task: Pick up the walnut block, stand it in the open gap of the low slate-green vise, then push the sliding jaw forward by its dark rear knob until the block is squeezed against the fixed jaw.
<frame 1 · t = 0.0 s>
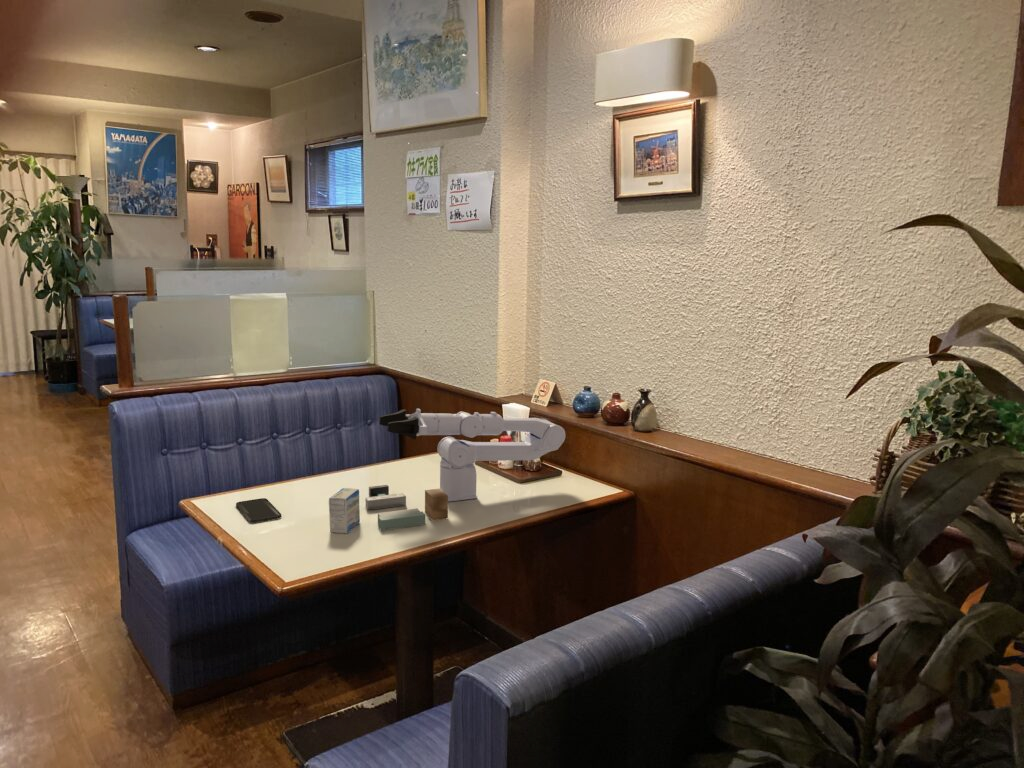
hand: (383, 423, 196), 22 cm above the table, tool horizontal, fingers open, 7 cm apart
medicine box: (345, 528, 184), on the table
vise body: (397, 520, 189), on the table
sliding jaw: (382, 496, 201), point 2 cm above the table, slide at 0.0 cm
walnut block: (436, 515, 193), on the table
phone: (258, 513, 193), on the table
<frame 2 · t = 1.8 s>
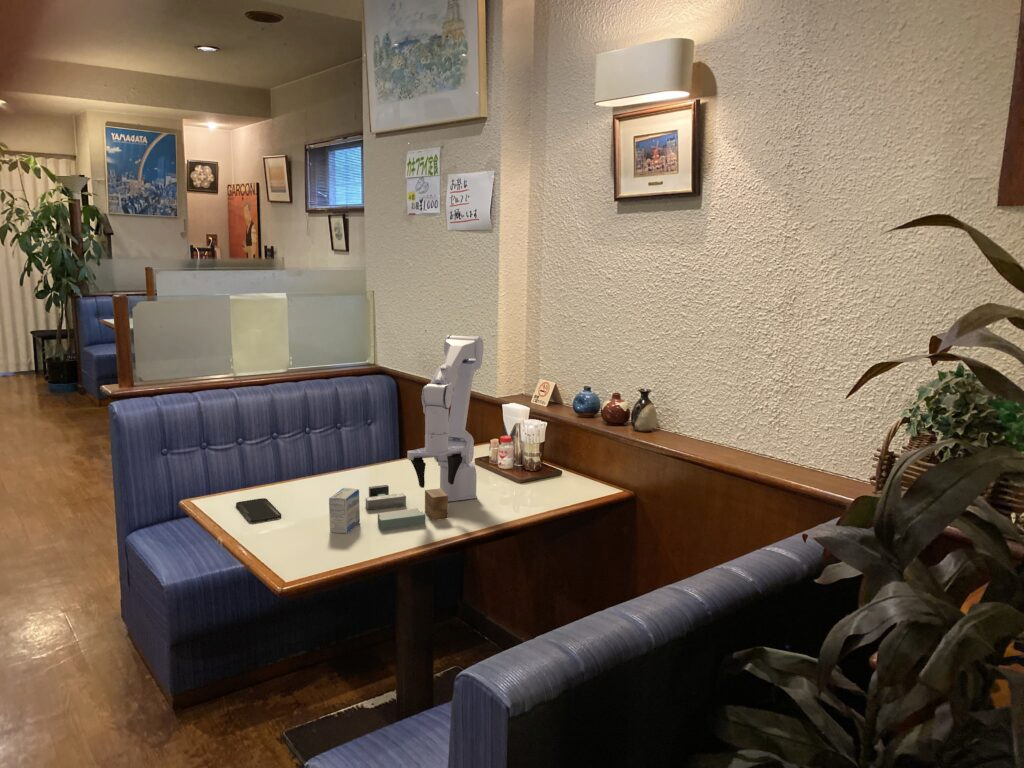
hand: (436, 484, 192), 8 cm above the table, tool pointing down, fingers open, 7 cm apart
nothing on the table moved.
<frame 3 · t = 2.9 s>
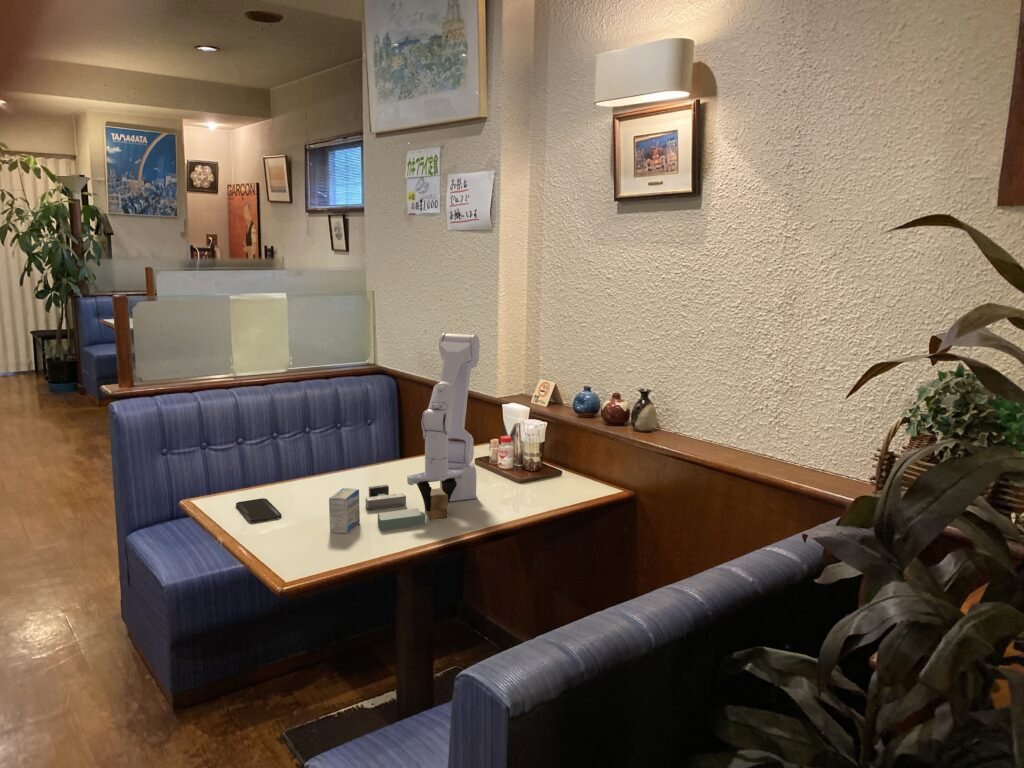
hand: (436, 508, 193), 2 cm above the table, tool pointing down, fingers closed on walnut block, 4 cm apart
walnut block: (436, 515, 193), on the table, touching gripper
everything else where it was.
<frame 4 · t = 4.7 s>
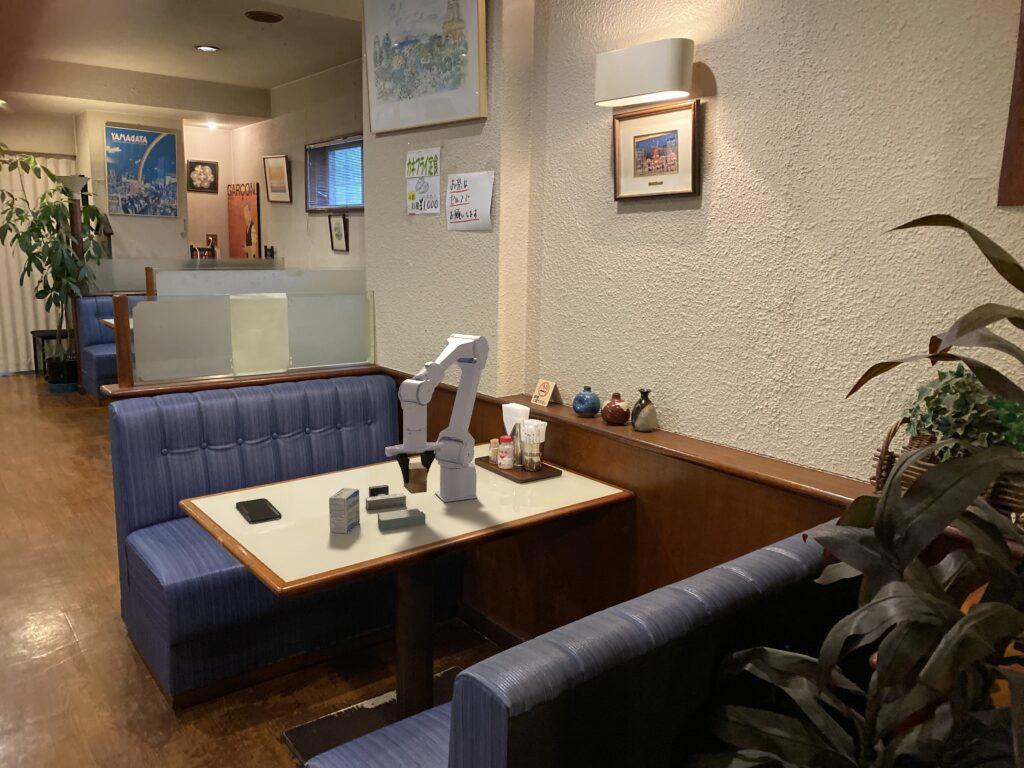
hand: (414, 481, 191), 9 cm above the table, tool pointing down, fingers closed on walnut block, 4 cm apart
walnut block: (415, 489, 191), point 7 cm above the table, touching gripper
everything else where it was.
when the fingers open (3 cm above the table, at t = 6.6 s): walnut block drops 1 cm, on the table.
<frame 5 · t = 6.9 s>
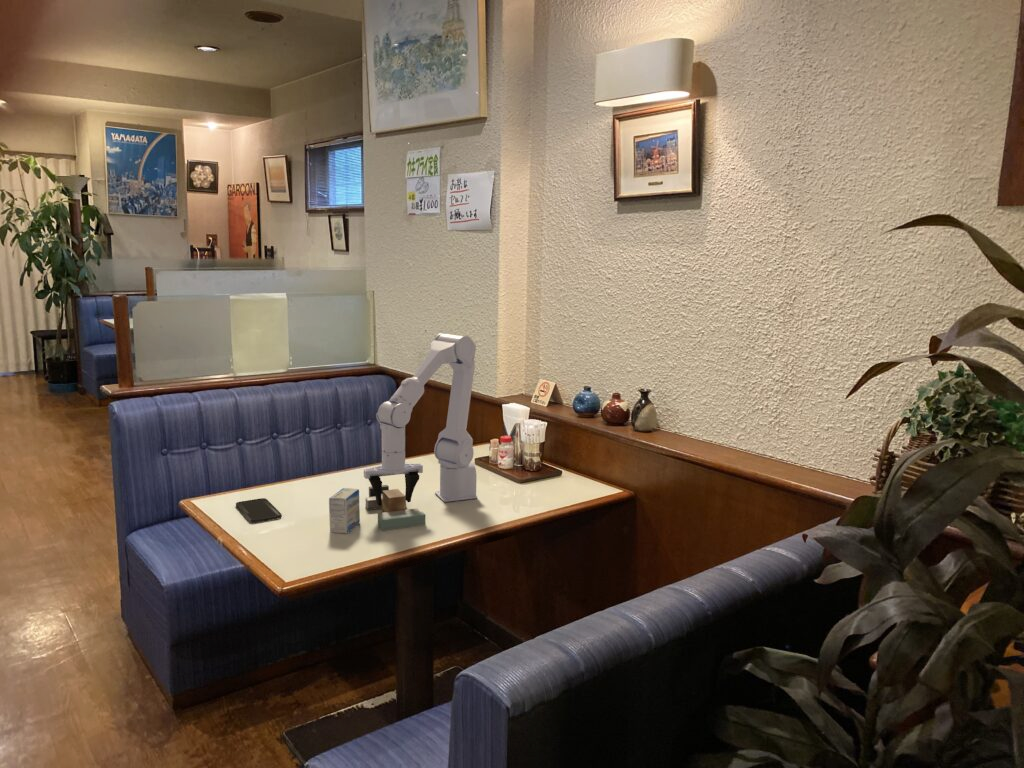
hand: (393, 502, 192), 3 cm above the table, tool pointing down, fingers open, 7 cm apart
walnut block: (393, 516, 192), on the table
everything else where it was.
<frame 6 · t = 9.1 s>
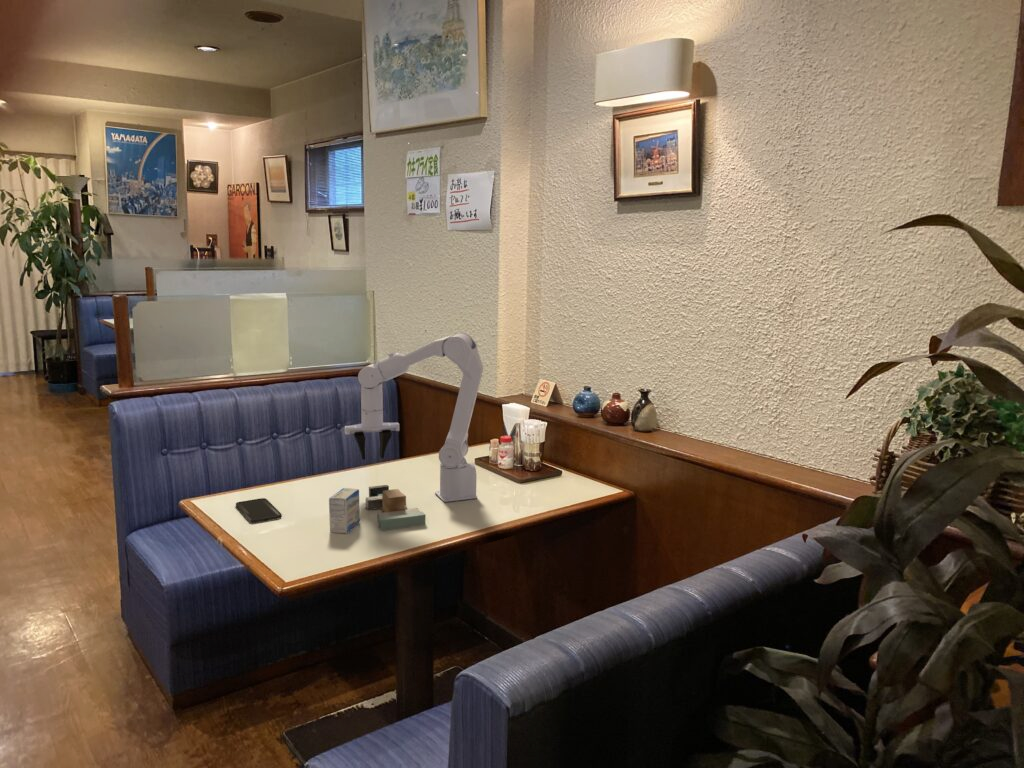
hand: (372, 457, 209), 9 cm above the table, tool pointing down, fingers open, 4 cm apart
nothing on the table moved.
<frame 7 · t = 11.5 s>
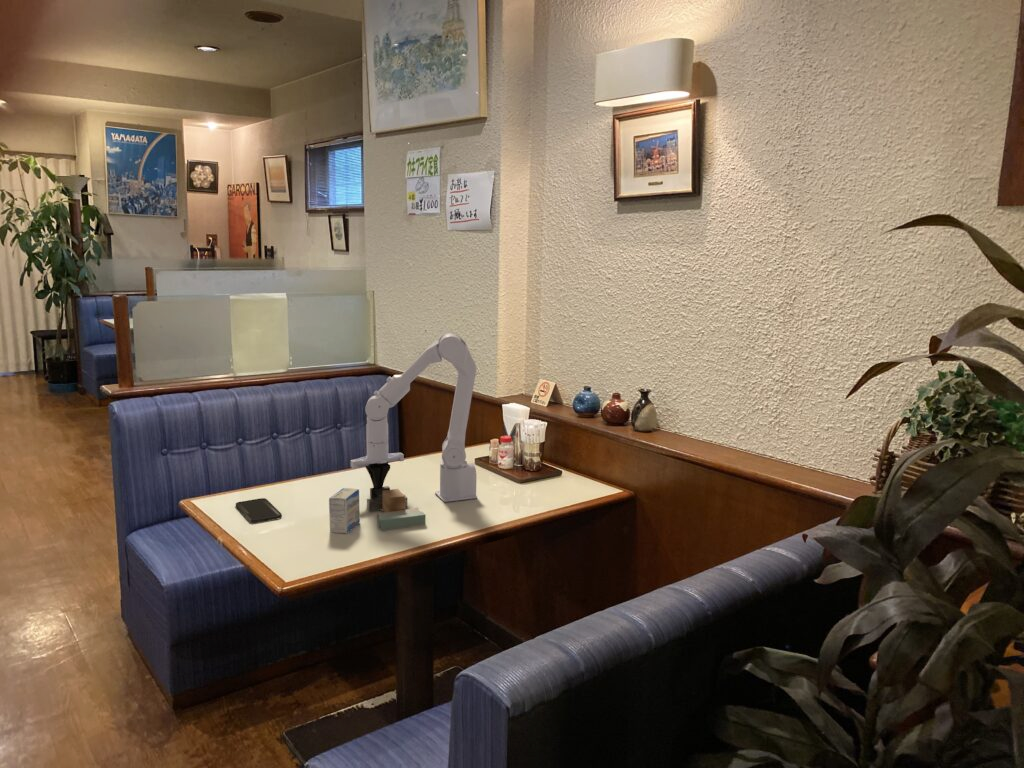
hand: (377, 490, 205), 2 cm above the table, tool pointing down, fingers closed
sliding jaw: (383, 497, 200), point 2 cm above the table, slide at 1.2 cm, touching gripper
everything else where it was.
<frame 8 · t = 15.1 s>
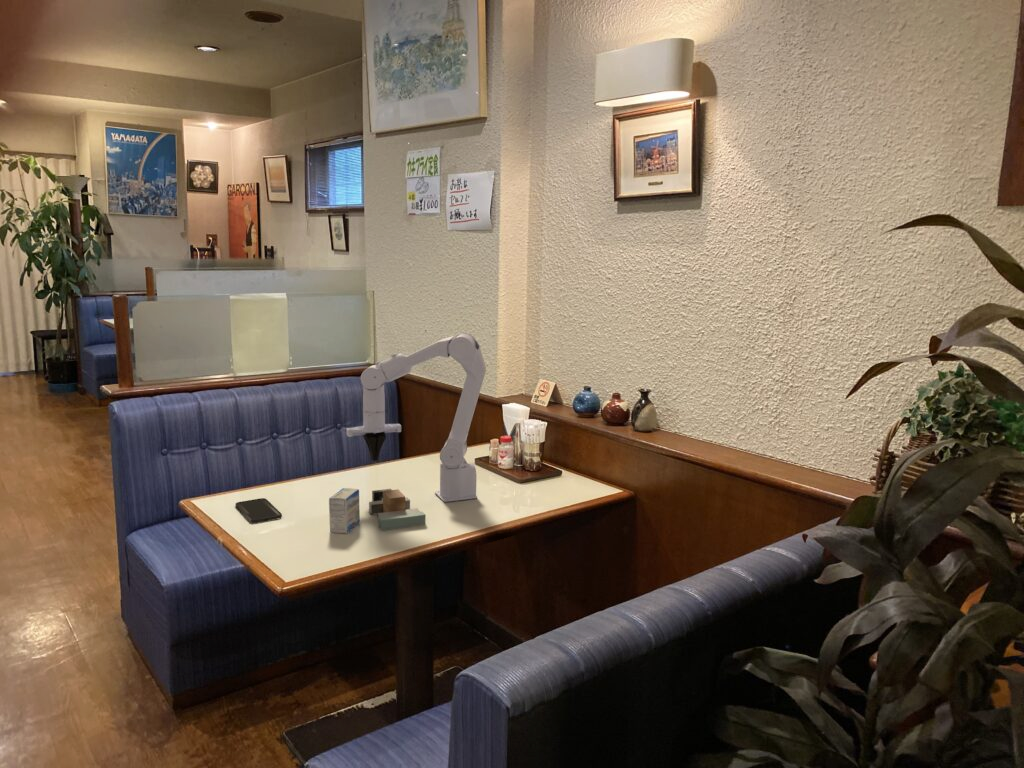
hand: (374, 459, 207), 9 cm above the table, tool pointing down, fingers closed
sliding jaw: (386, 500, 198), point 2 cm above the table, slide at 3.5 cm
everything else where it was.
at the end: walnut block 0.6 cm from the target spot, on the table; walnut block tilted 0°; sliding jaw slide at 3.5 cm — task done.
